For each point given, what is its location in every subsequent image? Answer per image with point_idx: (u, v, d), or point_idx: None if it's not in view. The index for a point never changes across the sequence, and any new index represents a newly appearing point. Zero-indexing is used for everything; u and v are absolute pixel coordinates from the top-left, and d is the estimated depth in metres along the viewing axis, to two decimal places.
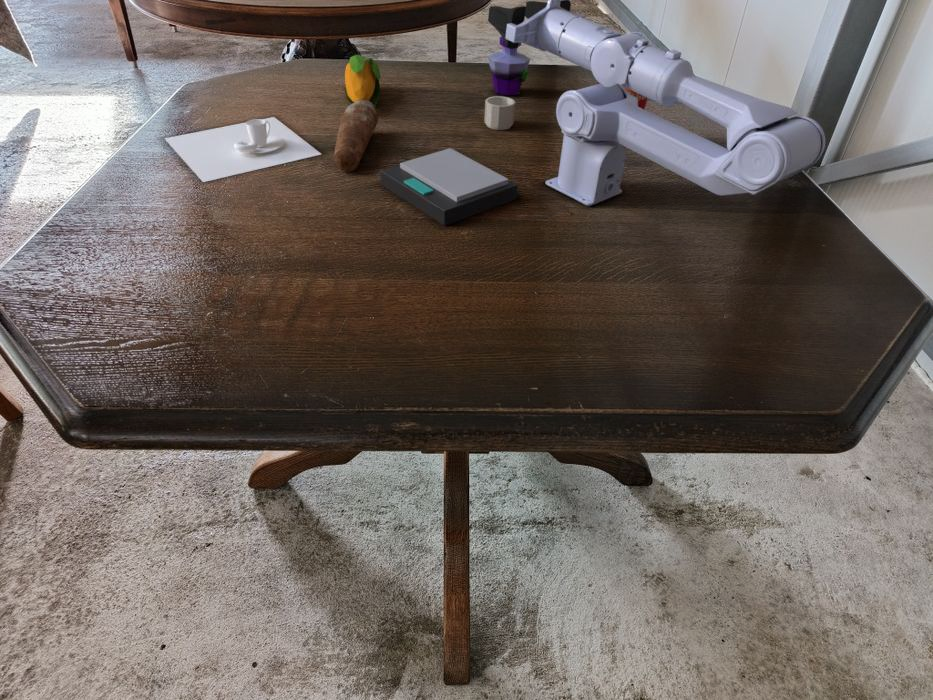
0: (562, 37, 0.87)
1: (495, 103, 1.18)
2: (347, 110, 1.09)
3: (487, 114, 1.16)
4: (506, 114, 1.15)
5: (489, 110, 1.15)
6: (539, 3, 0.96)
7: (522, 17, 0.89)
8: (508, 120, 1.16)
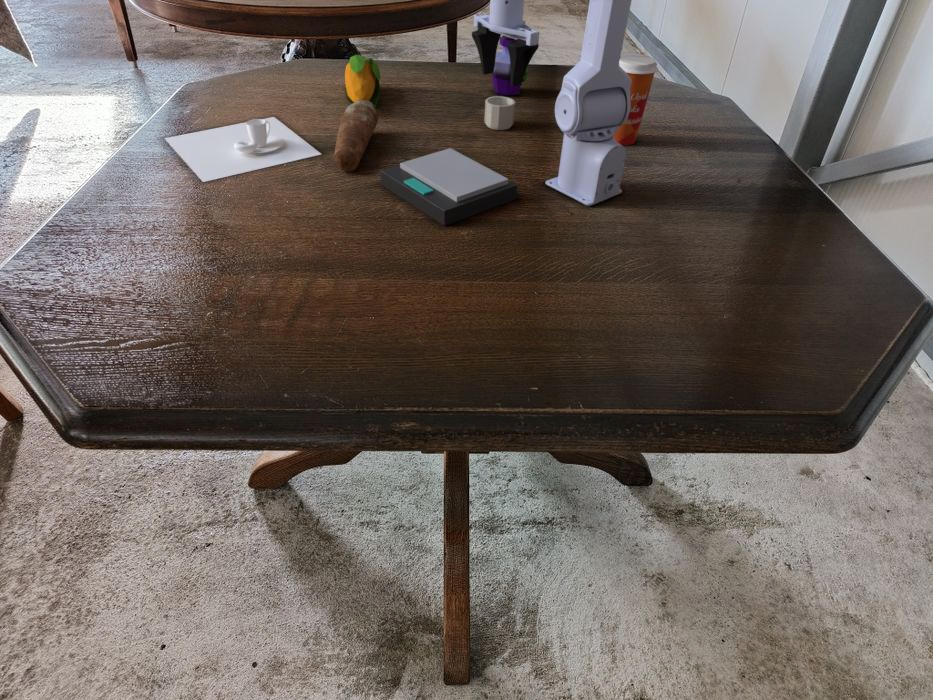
0: None
1: (495, 103, 1.18)
2: (347, 110, 1.09)
3: (487, 114, 1.16)
4: (506, 114, 1.15)
5: (489, 110, 1.15)
6: None
7: None
8: (508, 120, 1.16)
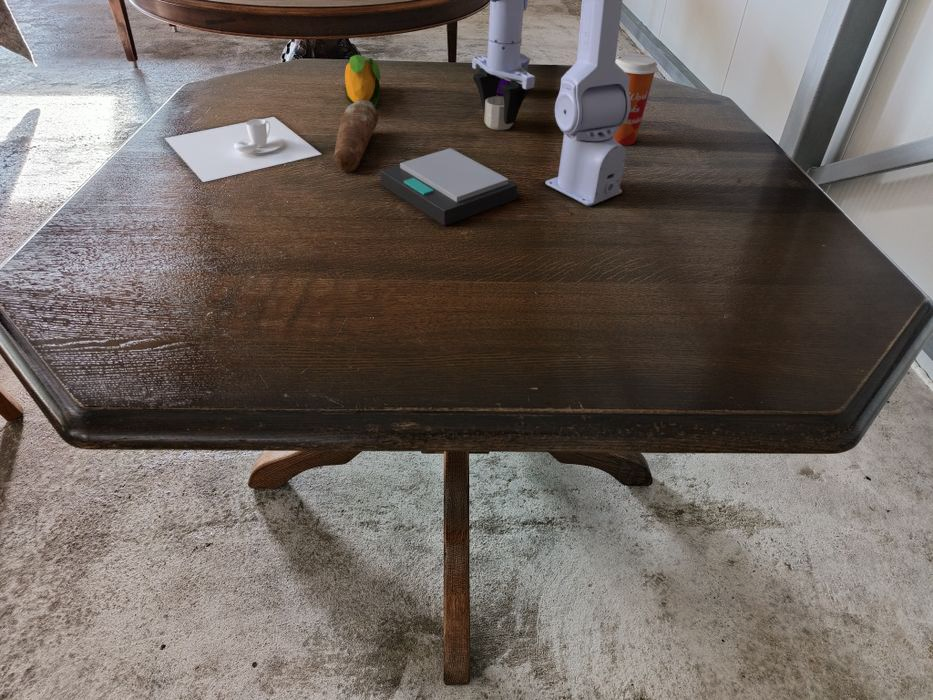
0: (489, 37, 1.08)
1: (495, 103, 1.18)
2: (347, 110, 1.09)
3: (487, 114, 1.16)
4: None
5: (488, 110, 1.15)
6: None
7: None
8: None
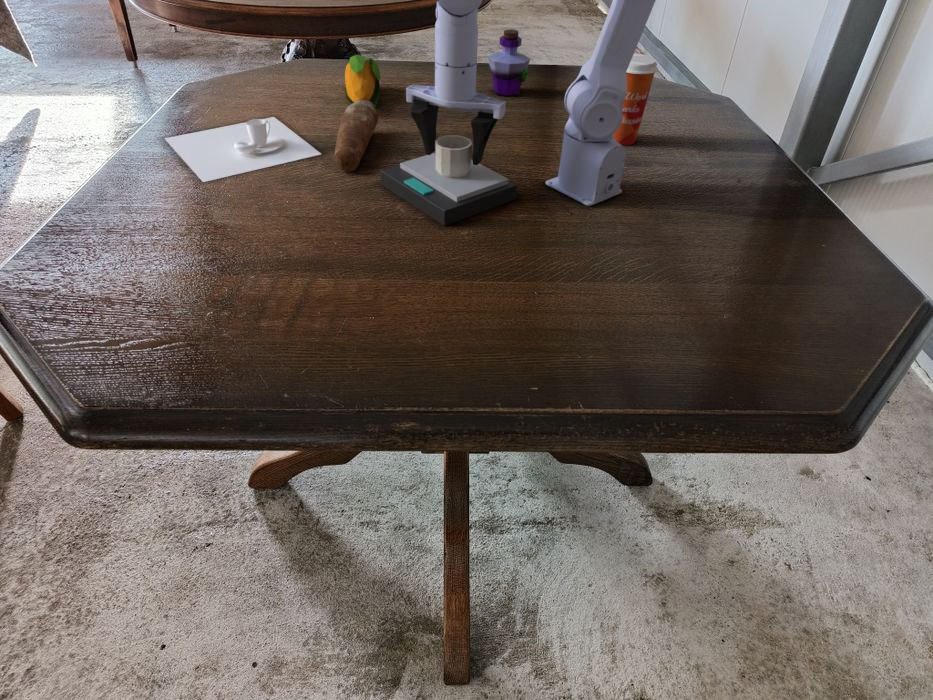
0: (453, 64, 0.82)
1: (442, 145, 0.94)
2: (347, 110, 1.09)
3: (443, 161, 0.92)
4: (467, 157, 0.92)
5: (445, 157, 0.91)
6: None
7: None
8: (469, 163, 0.93)
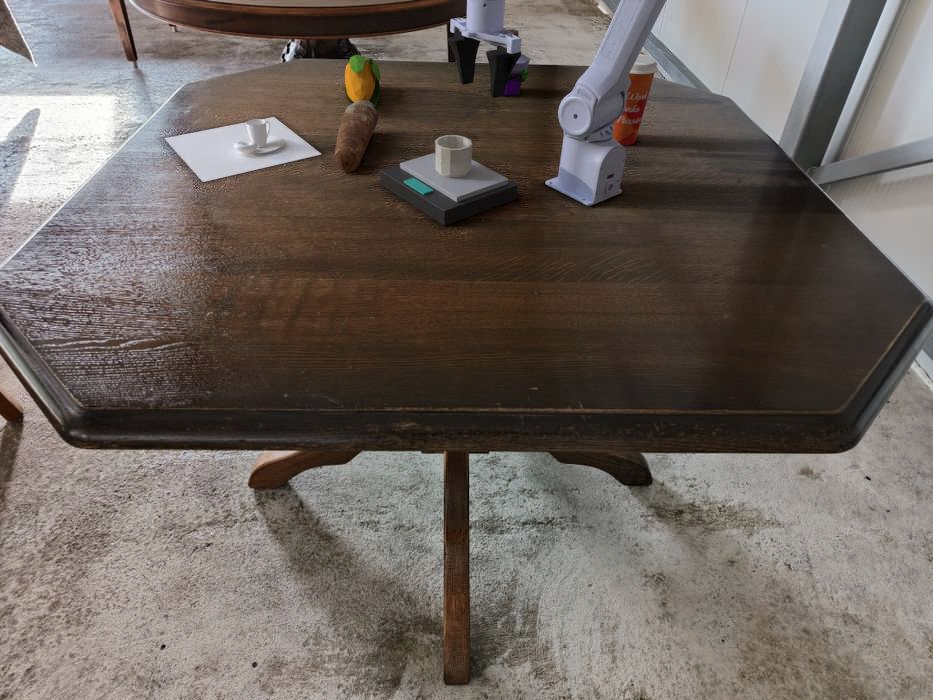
0: None
1: (442, 145, 0.94)
2: (347, 110, 1.09)
3: (443, 161, 0.92)
4: (467, 157, 0.92)
5: (445, 157, 0.91)
6: (461, 68, 1.02)
7: (494, 50, 0.94)
8: (469, 163, 0.93)
